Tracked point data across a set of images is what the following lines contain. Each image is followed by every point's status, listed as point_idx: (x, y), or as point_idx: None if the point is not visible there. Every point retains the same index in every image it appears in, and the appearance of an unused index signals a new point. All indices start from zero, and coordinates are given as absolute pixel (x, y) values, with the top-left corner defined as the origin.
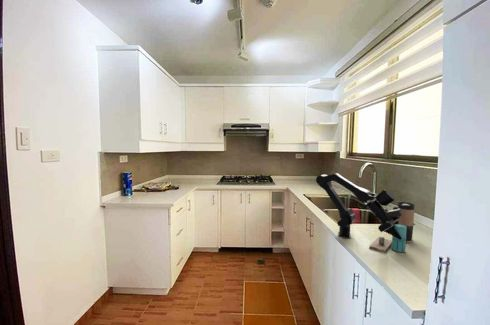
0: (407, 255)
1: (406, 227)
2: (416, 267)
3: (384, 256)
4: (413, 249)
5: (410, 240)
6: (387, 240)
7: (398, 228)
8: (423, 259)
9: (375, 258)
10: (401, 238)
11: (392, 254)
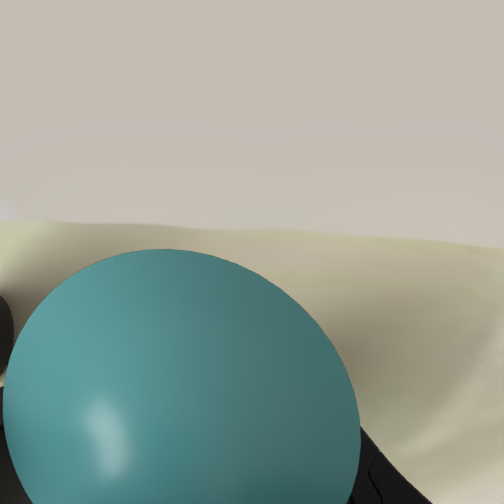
0: None
1: (185, 251)
2: (454, 280)
3: (430, 469)
4: None
5: (4, 301)
6: None
7: (350, 459)
8: (303, 243)
9: (482, 488)
10: None
11: None
